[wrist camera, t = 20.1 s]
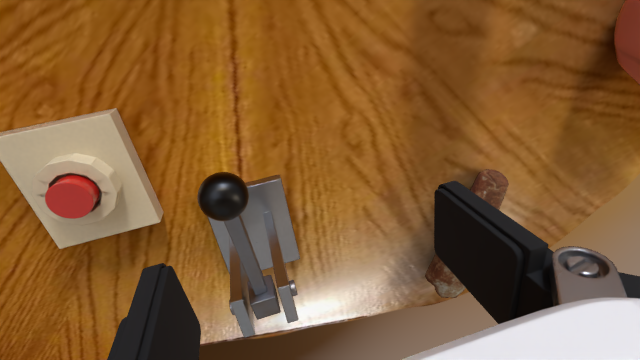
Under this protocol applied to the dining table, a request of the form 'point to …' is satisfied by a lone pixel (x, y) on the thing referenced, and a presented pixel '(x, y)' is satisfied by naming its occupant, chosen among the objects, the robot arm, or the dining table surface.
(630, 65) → the cell model
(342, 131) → the dining table surface
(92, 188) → the button
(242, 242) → the lever
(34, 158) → the button block
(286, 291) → the bracket
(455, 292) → the salami
